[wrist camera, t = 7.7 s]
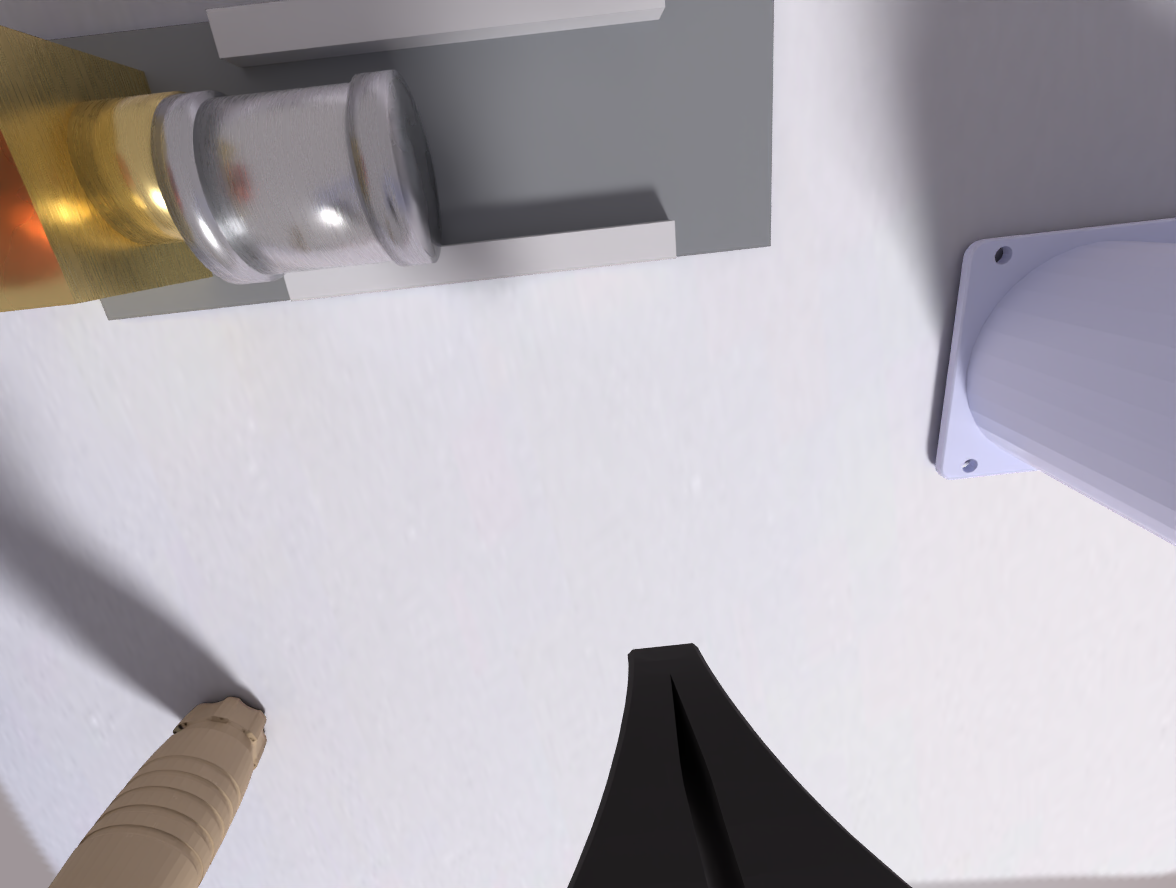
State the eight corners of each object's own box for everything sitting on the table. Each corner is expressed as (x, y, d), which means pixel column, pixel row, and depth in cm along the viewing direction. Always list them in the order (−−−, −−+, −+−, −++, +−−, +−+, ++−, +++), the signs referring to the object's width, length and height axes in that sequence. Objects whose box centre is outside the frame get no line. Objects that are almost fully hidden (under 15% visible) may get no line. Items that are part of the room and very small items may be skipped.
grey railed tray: (769, -38, 15) (788, -62, 14) (766, 245, 18) (782, 248, 16) (8, 50, 15) (-44, 35, 14) (118, 318, 18) (82, 326, 17)
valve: (219, 62, 15) (-26, -41, 9) (280, 269, 17) (114, 304, 11) (-30, 91, 15) (-451, 10, 9) (59, 294, 17) (-235, 344, 11)
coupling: (407, 57, 15) (369, 86, 11) (448, 228, 17) (427, 291, 14) (210, 80, 15) (115, 115, 11) (282, 247, 17) (223, 314, 14)
